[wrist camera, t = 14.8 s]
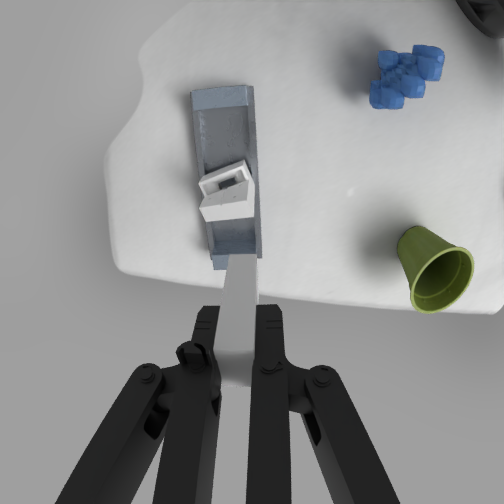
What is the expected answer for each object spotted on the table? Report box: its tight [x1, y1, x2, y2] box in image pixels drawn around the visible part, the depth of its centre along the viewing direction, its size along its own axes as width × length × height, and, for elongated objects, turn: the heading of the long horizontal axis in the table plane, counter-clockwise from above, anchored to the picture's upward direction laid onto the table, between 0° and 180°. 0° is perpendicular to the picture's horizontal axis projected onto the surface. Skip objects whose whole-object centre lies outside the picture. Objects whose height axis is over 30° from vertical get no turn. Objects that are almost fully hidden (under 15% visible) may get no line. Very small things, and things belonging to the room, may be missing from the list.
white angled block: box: [198, 160, 255, 222], centre depth 32 cm, size 4×10×9 cm, turn 111°
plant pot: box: [397, 226, 474, 314], centre depth 37 cm, size 12×12×11 cm
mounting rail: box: [190, 85, 262, 270], centre depth 35 cm, size 24×8×5 cm, turn 3°
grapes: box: [369, 45, 445, 109], centre depth 23 cm, size 12×7×12 cm, turn 146°
